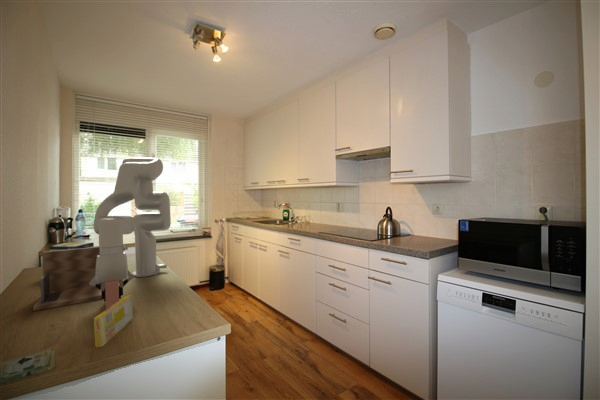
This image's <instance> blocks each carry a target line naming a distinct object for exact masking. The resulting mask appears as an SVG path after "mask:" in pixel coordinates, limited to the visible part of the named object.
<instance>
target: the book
mask: <svg viewBox="0 0 600 400" xmlns="http://www.w3.org/2000/svg"><path fill="white" fill-rule="evenodd" d="M105 295H106V301H105V310H106V309H108V308H109V307H111V306H112V305H114V304H115V303H116V302H118V301H119V300H120V299H119V280H116V281H109V282H105Z"/></svg>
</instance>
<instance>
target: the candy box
mask: <svg viewBox="0 0 600 400" xmlns="http://www.w3.org/2000/svg"><path fill="white" fill-rule="evenodd" d="M132 304H133V303H132V295H130V294H129V295H125V296H124V297H121V299H119V301H118V302H116V303H115V304H114V305H112V306H111V307H109V308H108V309H106V308H105V310H104V311H102V312H100V313H99V314H98V315H96V316H95V317H94V318H93V327H94V328H93V329H94V343H95V348H101V347H103V346H105V345H106V344H107V343H108V342H109V341H110V340H111V339H113V338H114V337H115V336H116V335H117V334H118V333H120V331H121V330H123V328H125V327H127V325H129V323H131V322H132V321H133V320H134V319H133V318H134V317H133V305H132Z"/></svg>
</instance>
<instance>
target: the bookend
mask: <svg viewBox="0 0 600 400" xmlns="http://www.w3.org/2000/svg"><path fill="white" fill-rule="evenodd" d="M39 279H40V280H39V281H40V283H39V284H40V297H41V303H46V302H52V301H57V300H58V298H59V296H60V294H61V293H62V291H61V292H54V293H50V276H49V272H46V273H45V274H44V275H43V274H42V276H41V278H39Z"/></svg>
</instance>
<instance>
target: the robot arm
mask: <svg viewBox="0 0 600 400" xmlns="http://www.w3.org/2000/svg"><path fill="white" fill-rule="evenodd" d="M121 163H122V164H120V166H119V169H118V172H117V177H116V182H115V186H114V190H113V192H112V193H111V194H110V195H108V196H107V197H105V199H104V200H102V201H101V202H100V204H99V205H98V206H97V207H96V211H95V215H94V219H93V231H94V233H95V234H96V235H98V247H99V255H97V258H96V267H95V275H94V277H93V278H92V280H91V281H90V283H89V285H91V286H95V287H96V288H98V289H100V290H101V291H102V299H101V300H103V302H104V303H106V295H105V282H109V281H116V280H119V300H121V299H122V296H124V287H125V286H126V285H127V284H128V283H129V282H130V281H132V280H133V279H134V277H135V278H144V277H150V276H156V275H158V274H160V272H161V269H166V268H168V267H167V266H168V265H167V264H162V263H161V264H158V262H157V239H156V236H155V235H154V234H153V232H163V231H168V230H169V229H170V228H171V223H172V222H171V219H172V218H171V203H170V202H171V201H170V196H169V194H168V193H167V192H165V191H154V187H153V186H154V185H153V181H155V180H157V179H158V177H160V176H161V174H162V173H163V170H164V164H163V161H162V160H161V159H160V158H159V157H158V158H157V157H127V158H124V159H123V160H122V161H121ZM133 200H134V206H135V208H136V209H137V210H139V211H159V212H138V213H136V214H135V215H134V216H130V215H109V213H110V212H111V211H112V210H113V209H115V208H117V207H119V206H121V205H123V204H126V203H128V202H131V201H133ZM133 233H134V248H135V249H134V252H135V254H134V255H135V270H134V271H132V272H131V271H130V270H129V268H128V267H129V266H128V257H127V253H126V252H125V251H127V250H128V247H129V246H127V245H126V246H125V245H124V235H130V234H133ZM95 281H96V282H97V283H96V282H95ZM99 283H102V284H99Z"/></svg>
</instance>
